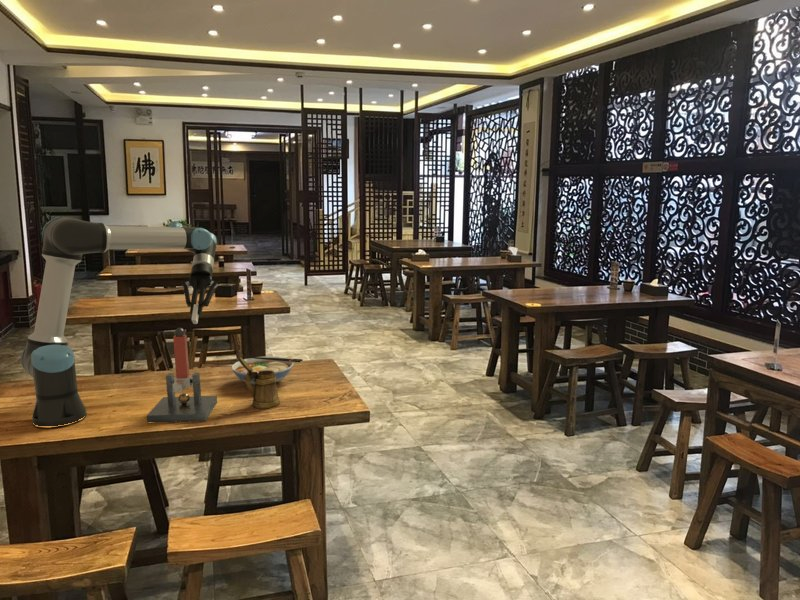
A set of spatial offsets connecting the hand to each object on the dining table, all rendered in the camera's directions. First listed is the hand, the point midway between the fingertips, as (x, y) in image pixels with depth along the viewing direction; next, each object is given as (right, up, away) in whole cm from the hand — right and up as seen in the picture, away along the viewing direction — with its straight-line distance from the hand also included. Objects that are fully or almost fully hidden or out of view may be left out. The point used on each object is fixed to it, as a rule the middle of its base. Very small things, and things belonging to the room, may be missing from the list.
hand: (194, 321), depth 216 cm
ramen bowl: (+21, -24, +15) cm, 35 cm away
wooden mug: (+25, -28, -7) cm, 38 cm away
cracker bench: (+1, -29, -14) cm, 33 cm away
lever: (+1, -21, -16) cm, 27 cm away
